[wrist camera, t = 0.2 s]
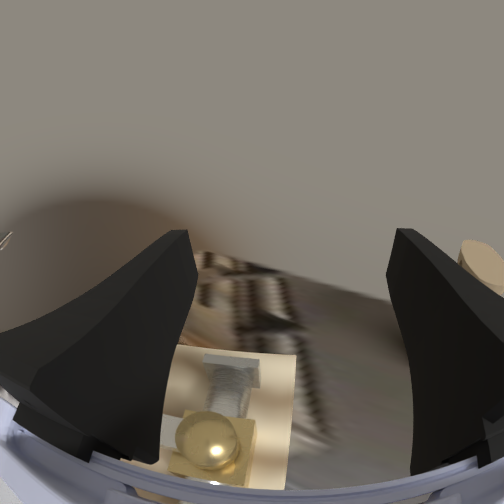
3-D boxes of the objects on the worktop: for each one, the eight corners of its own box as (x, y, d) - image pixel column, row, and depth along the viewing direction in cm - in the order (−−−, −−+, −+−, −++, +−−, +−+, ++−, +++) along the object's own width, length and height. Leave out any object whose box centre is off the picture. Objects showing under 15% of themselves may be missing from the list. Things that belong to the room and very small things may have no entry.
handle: (411, 386, 24) (473, 281, 16) (411, 342, 29) (455, 236, 21) (447, 389, 23) (516, 288, 14) (444, 345, 28) (494, 244, 19)
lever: (243, 425, 19) (240, 415, 18) (234, 474, 16) (230, 469, 14) (88, 388, 22) (77, 376, 20) (71, 424, 18) (58, 413, 17)
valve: (237, 547, 13) (230, 552, 10) (167, 531, 14) (148, 531, 11) (265, 382, 27) (264, 359, 25) (208, 376, 28) (200, 353, 26)
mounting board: (273, 555, 12) (273, 556, 12) (83, 500, 15) (80, 499, 14) (295, 358, 30) (296, 355, 29) (147, 342, 32) (145, 339, 32)
